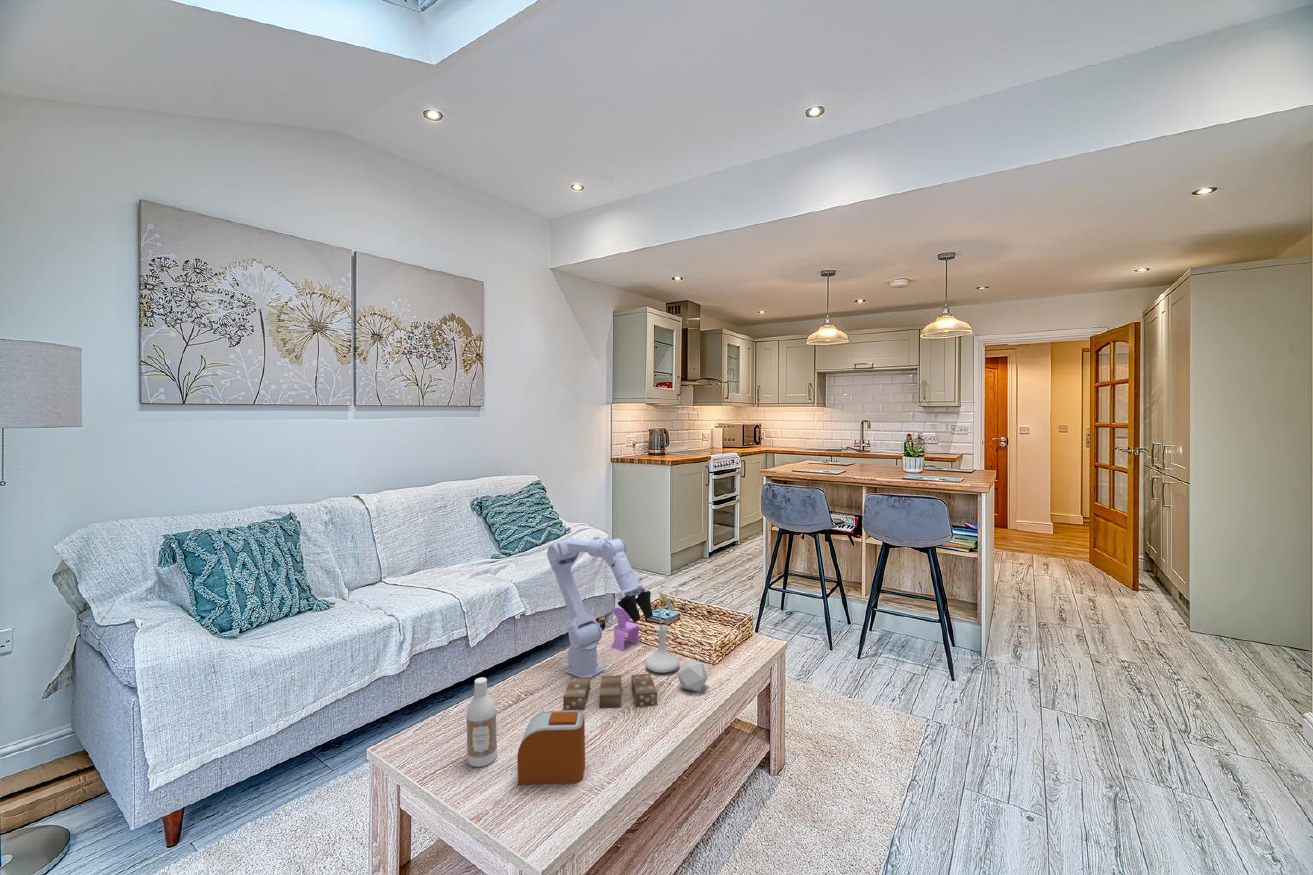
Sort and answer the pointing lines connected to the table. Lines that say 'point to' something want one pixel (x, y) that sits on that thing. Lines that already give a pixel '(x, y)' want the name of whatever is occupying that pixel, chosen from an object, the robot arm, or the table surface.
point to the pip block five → (644, 690)
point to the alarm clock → (553, 749)
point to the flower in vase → (662, 647)
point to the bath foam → (481, 727)
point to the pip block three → (576, 693)
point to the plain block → (610, 692)
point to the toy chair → (624, 629)
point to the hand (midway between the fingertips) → (643, 619)
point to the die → (692, 675)
